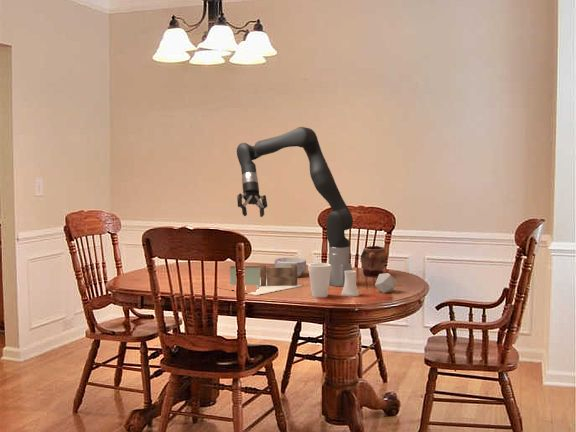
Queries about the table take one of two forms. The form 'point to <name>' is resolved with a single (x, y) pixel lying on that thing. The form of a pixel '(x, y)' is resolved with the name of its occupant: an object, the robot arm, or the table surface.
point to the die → (385, 283)
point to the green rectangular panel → (247, 275)
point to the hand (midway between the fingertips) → (253, 216)
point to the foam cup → (319, 278)
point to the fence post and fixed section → (279, 276)
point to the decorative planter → (373, 261)
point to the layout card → (270, 288)
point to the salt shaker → (350, 284)
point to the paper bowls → (290, 261)
